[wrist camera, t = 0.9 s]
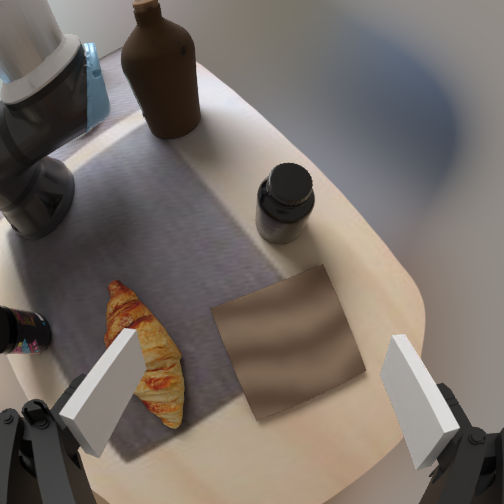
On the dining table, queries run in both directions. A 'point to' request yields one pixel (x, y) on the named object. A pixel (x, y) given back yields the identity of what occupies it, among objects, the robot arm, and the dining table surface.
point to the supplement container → (23, 332)
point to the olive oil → (162, 72)
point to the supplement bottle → (284, 203)
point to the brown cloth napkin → (288, 342)
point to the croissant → (149, 354)
